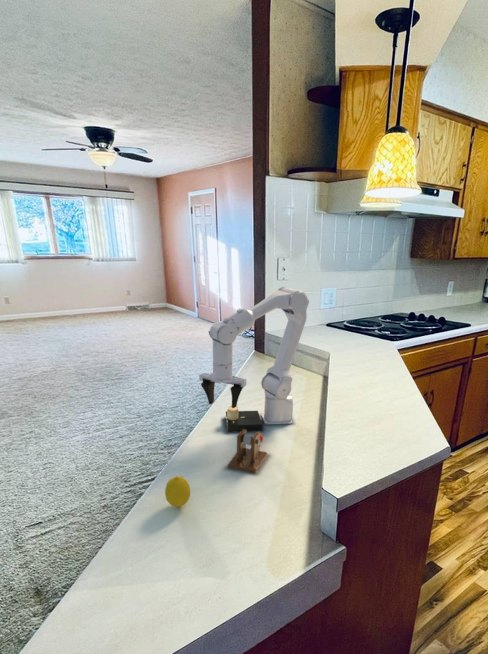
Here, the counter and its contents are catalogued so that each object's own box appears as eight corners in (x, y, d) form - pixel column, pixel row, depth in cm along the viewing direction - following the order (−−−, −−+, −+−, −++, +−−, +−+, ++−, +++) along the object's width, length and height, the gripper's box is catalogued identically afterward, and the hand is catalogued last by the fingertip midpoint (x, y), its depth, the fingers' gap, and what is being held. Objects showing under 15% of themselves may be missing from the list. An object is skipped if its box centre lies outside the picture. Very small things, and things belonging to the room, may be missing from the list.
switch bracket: (241, 451, 120) (241, 423, 116) (267, 456, 118) (268, 428, 115) (227, 468, 111) (227, 439, 107) (255, 473, 109) (256, 444, 106)
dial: (238, 420, 133) (239, 409, 132) (227, 420, 132) (227, 409, 131) (237, 415, 136) (238, 404, 135) (226, 415, 136) (227, 405, 134)
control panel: (257, 417, 142) (257, 410, 141) (262, 431, 132) (262, 423, 131) (220, 418, 140) (220, 411, 139) (221, 432, 130) (221, 425, 129)
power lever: (254, 442, 122) (255, 432, 122) (263, 443, 121) (265, 433, 122) (240, 444, 111) (242, 433, 111) (251, 446, 110) (253, 435, 110)
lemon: (184, 515, 91) (183, 485, 88) (161, 511, 92) (159, 481, 89) (194, 501, 96) (193, 472, 93) (172, 497, 97) (171, 468, 94)
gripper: (194, 363, 120) (195, 406, 125) (240, 369, 116) (239, 413, 121) (204, 357, 126) (205, 398, 131) (249, 363, 123) (248, 404, 128)
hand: (222, 404), depth 127 cm, fingers open, 7 cm apart
